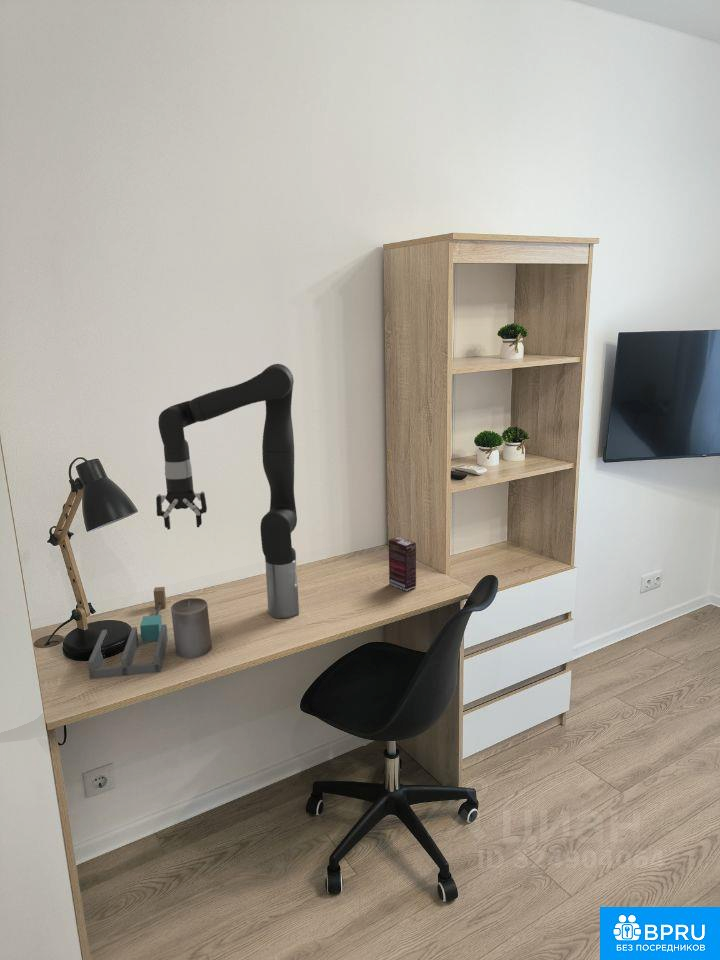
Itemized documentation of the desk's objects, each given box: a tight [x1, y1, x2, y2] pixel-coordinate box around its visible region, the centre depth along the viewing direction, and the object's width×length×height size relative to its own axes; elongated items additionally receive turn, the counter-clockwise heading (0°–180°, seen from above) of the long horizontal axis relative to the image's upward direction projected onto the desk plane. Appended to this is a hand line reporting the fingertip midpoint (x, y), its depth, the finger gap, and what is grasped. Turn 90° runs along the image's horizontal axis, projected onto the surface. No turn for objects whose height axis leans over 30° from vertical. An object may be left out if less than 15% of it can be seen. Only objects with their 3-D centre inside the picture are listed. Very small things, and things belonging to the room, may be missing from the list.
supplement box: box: [388, 536, 417, 592], centre depth 229 cm, size 9×5×16 cm, turn 40°
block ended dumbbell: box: [139, 586, 167, 643], centre depth 208 cm, size 5×24×6 cm, turn 9°
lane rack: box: [87, 624, 169, 680], centre depth 187 cm, size 17×18×5 cm
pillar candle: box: [170, 597, 213, 659], centre depth 189 cm, size 10×10×15 cm
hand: (183, 527), depth 206 cm, fingers open, 8 cm apart
